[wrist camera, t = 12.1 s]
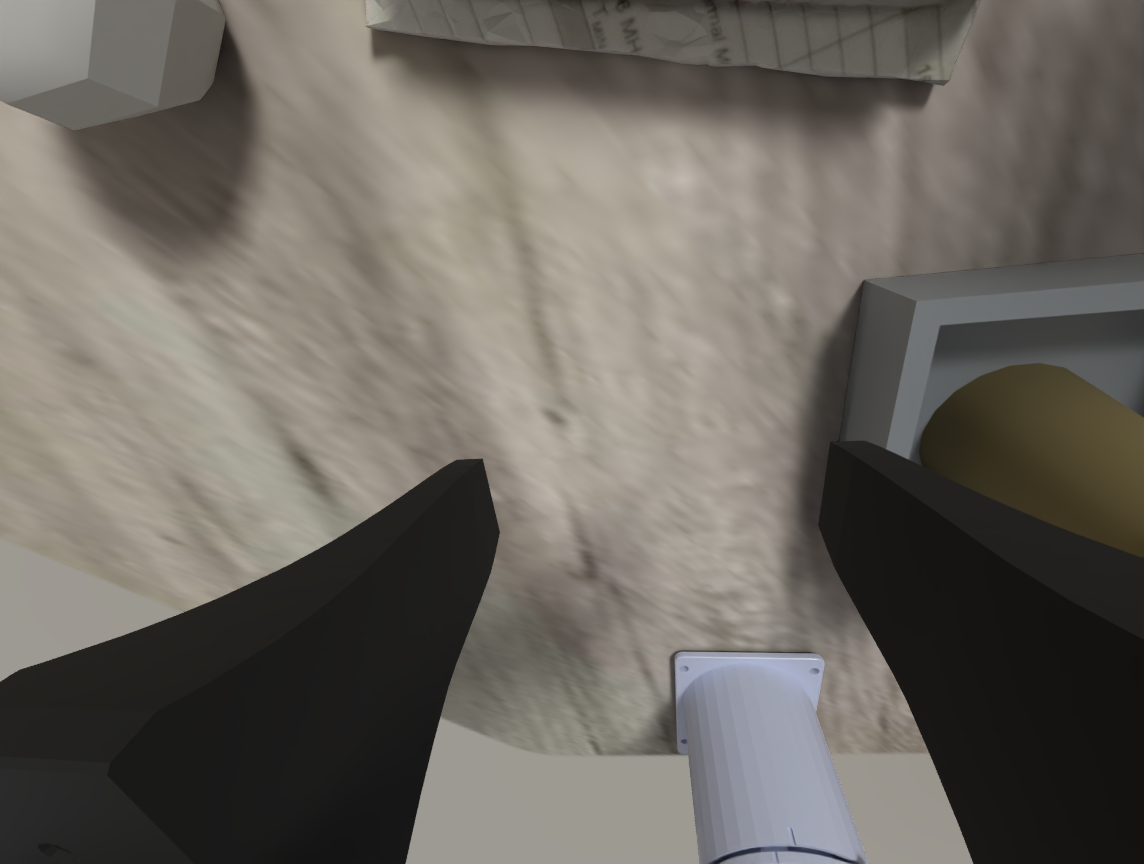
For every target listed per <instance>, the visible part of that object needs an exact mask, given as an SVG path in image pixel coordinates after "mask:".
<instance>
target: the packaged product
mask: <svg viewBox="0 0 1144 864" xmlns="http://www.w3.org/2000/svg"><path fill="white" fill-rule="evenodd" d="M979 3H980V0H366V23H367V25H366V27H369V28H373V29H376V30H381V31H389V32H396V33H403V34H410V35H417V36H424V37H431V38H439V39H447V40H455V41H462V42H470V43H478V44H486V45H530V46H540V47H550V48H560V49H570V50H581V51H591V52H601V53H611V54H622V55H636V56H644V57H649V58H654V59H660V60H665V61H670V62H676V63H681V64H692V65H703V64H708V65H709V66H715V67H725V66H759V67H761V68H768V69H775V70H782V71H790V72H797V73H804V74H812V75H819V76H827V77H858V78H894V79H909V80H914V81H920V82H926V83H931V84H937V85H943V86H944V85H945V84H946V83H947V82H948V81H949V80H950V79H951V75H952V71H953V67H954V65H955V63H956V60H957V58H958V55H959V53H960V50H961V48H962V45H963V43H964V40H965V38H966V36H967V33H968V31H969V28H970V26H971V23H972V21H973V18H974V16H975V13H976V11H977V8H978V6H979Z"/></svg>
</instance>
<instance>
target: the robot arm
mask: <svg viewBox="0 0 1144 864" xmlns="http://www.w3.org/2000/svg"><path fill="white" fill-rule="evenodd" d="M818 525H819V528H820V531H821V533H822V536H823V539H824V542H825V544H826V547H827V550H828V552H829V555H830V557H831V560H832V562H833V565H834V567H835V570H836V571H837V573H838V575H839V577H840V579H841V581H842V583H843V585H844V586H845V588H846V590H847V592H848V594H849V595H850V597H851V599H852V601H853V603H854V605H855V606H856V608H857V610H858V612H859V614H860V615H861V617H862V619H863V621H864V623H865V624H866V626H867V628H868V630H869V631H870V633H871V635H872V637H873V639H874V640H875V642H876V644H877V646H878V648H879V649H880V651H881V653H882V655H883V657H884V658H885V660H886V662H887V664H888V665H889V667H890V669H891V671H892V673H893V675H894V677H895V679H896V681H897V682H898V684H899V686H900V688H901V690H902V692H903V694H904V696H905V698H906V700H907V703H908V705H909V707H910V710H911V712H912V714H913V717H914V719H915V721H916V723H917V726H918V728H919V730H920V733H921V735H922V737H923V740H924V742H925V744H926V746H927V749H928V751H929V753H930V756H931V758H932V760H933V763H934V765H935V768H936V770H937V773H938V775H939V778H940V780H941V783H942V785H943V787H944V790H945V792H946V795H947V797H948V800H949V802H950V805H951V807H952V810H953V812H954V815H955V817H956V819H957V822H958V824H959V827H960V829H961V832H962V835H963V837H964V840H965V843H966V845H967V848H968V851H969V853H970V856H971V858H972V861H973V864H1144V558H1142V557H1139V556H1136V555H1133V554H1131V553H1128V552H1125V551H1122V550H1120V549H1117V548H1114V547H1111V546H1109V545H1106V544H1103V543H1100V542H1097V541H1095V540H1092V539H1089V538H1086V537H1084V536H1081V535H1078V534H1076V533H1073V532H1070V531H1068V530H1065V529H1063V528H1060V527H1058V526H1055V525H1053V524H1050V523H1048V522H1045V521H1043V520H1040V519H1038V518H1036V517H1033V516H1031V515H1029V514H1026V513H1024V512H1022V511H1019V510H1017V509H1014V508H1012V507H1010V506H1007V505H1005V504H1003V503H1000V502H998V501H996V500H994V499H991V498H989V497H987V496H985V495H982V494H980V493H978V492H976V491H974V490H972V489H969V488H967V487H965V486H963V485H961V484H959V483H957V482H954V481H952V480H950V479H948V478H946V477H944V476H942V475H940V474H938V473H935V472H933V471H931V470H929V469H927V468H925V467H923V466H921V465H919V464H917V463H915V462H913V461H910V460H908V459H906V458H904V457H902V456H900V455H898V454H896V453H893V452H891V451H889V450H887V449H885V448H882V447H880V446H878V445H875V444H873V443H870V442H867V441H864V440H861V441H840V442H830V449H829V455H828V462H827V469H826V476H825V483H824V490H823V497H822V504H821V510H820V517H819V524H818ZM499 534H500V531H499V527H498V523H497V518H496V514H495V510H494V505H493V501H492V497H491V493H490V488H489V484H488V480H487V475H486V471H485V467H484V463H483V459H465V460H456V461H454V462H452V463H450V464H448V465H447V466H445V467H443V468H442V469H440V470H439V471H437V472H436V473H434V474H433V475H431V476H430V477H429V478H427V479H426V480H424V481H423V482H421V483H420V484H419V485H417V486H416V487H414V488H413V489H411V490H410V491H408V492H407V493H406V494H404V495H403V496H401V497H400V498H398V499H397V500H396V501H394V502H393V503H391V504H390V505H388V506H387V507H385V508H384V509H382V510H381V511H379V512H378V513H376V514H375V515H373V516H371V517H370V518H368V519H367V520H365V521H364V522H362V523H361V524H359V525H357V526H356V527H354V528H353V529H351V530H350V531H348V532H347V533H345V534H343V535H342V536H340V537H338V538H337V539H335V540H333V541H332V542H330V543H328V544H326V545H325V546H323V547H321V548H320V549H318V550H316V551H314V552H312V553H310V554H308V555H307V556H305V557H303V558H301V559H299V560H297V561H295V562H294V563H292V564H290V565H288V566H286V567H284V568H282V569H280V570H278V571H276V572H274V573H272V574H269V575H267V576H265V577H263V578H261V579H259V580H257V581H254V582H252V583H250V584H248V585H246V586H244V587H242V588H239V589H237V590H235V591H233V592H231V593H229V594H227V595H224V596H222V597H220V598H218V599H215V600H213V601H211V602H208V603H206V604H203V605H201V606H198V607H196V608H194V609H191V610H189V611H186V612H184V613H181V614H179V615H176V616H174V617H171V618H168V619H166V620H164V621H161V622H158V623H156V624H153V625H150V626H148V627H145V628H142V629H140V630H137V631H134V632H131V633H129V634H126V635H124V636H121V637H118V638H115V639H112V640H109V641H106V642H103V643H100V644H97V645H94V646H91V647H88V648H85V649H82V650H79V651H76V652H73V653H70V654H67V655H64V656H61V657H58V658H55V659H52V660H49V661H46V662H43V663H40V664H37V665H34V666H30V667H27V668H24V669H21V670H19V671H17V672H15V673H13V674H12V675H10V676H9V677H7V678H6V679H4V680H2V681H1V682H0V864H405V863H406V859H407V854H408V850H409V845H410V841H411V836H412V832H413V827H414V823H415V817H416V814H417V809H418V804H419V800H420V795H421V791H422V787H423V783H424V779H425V775H426V770H427V767H428V763H429V759H430V755H431V750H432V746H433V742H434V738H435V734H436V731H437V727H438V723H439V720H440V716H441V712H442V709H443V705H444V701H445V698H446V694H447V690H448V687H449V684H450V681H451V678H452V675H453V672H454V669H455V666H456V663H457V660H458V658H459V655H460V653H461V650H462V647H463V645H464V642H465V639H466V637H467V634H468V632H469V629H470V626H471V624H472V621H473V619H474V616H475V613H476V611H477V608H478V606H479V603H480V600H481V598H482V595H483V592H484V589H485V587H486V584H487V581H488V579H489V576H490V573H491V569H492V565H493V561H494V557H495V553H496V548H497V543H498V538H499ZM674 660H675V694H676V728H677V750H678V752H679V753H681V754H683V755H688V756H689V766H690V775H691V785H692V795H693V805H694V814H695V824H696V834H697V843H698V853H699V861H700V862H699V863H700V864H869V863H868V860H867V857H866V854H865V851H864V848H863V846H862V843H861V840H860V837H859V835H858V831H857V829H856V826H855V823H854V820H853V817H852V814H851V812H850V809H849V806H848V803H847V800H846V797H845V795H844V792H843V789H842V786H841V783H840V780H839V778H838V775H837V772H836V769H835V766H834V764H833V761H832V758H831V755H830V752H829V749H828V746H827V743H826V741H825V738H824V735H823V732H822V729H821V726H820V724H819V721H818V718H817V715H816V710H817V704H818V699H819V693H820V688H821V683H822V677H823V672H824V666H825V663H824V660H823V658H822V656H821V655H819V654H814V653H751V652H679V653H677V654H676V655H675V657H674Z"/></svg>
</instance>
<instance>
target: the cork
mask: <svg viewBox="0 0 1144 864" xmlns="http://www.w3.org/2000/svg"><path fill="white" fill-rule="evenodd" d="M919 454H920V459H921V463H922V466H923V467H925V468H927V469H929V470H931V471H933V472H935V473H938V474H940V475H942V476H944V477H946V478H948V479H950V480H952V481H954V482H957V483H959V484H961V485H963V486H965V487H967V488H969V489H972V490H974V491H976V492H978V493H980V494H982V495H985V496H987V497H989V498H991V499H994V500H996V501H998V502H1000V503H1003V504H1005V505H1007V506H1010V507H1012V508H1014V509H1017V510H1019V511H1022V512H1024V513H1026V514H1029V515H1031V516H1033V517H1036V518H1038V519H1040V520H1043V521H1045V522H1048V523H1050V524H1053V525H1055V526H1058V527H1060V528H1063V529H1065V530H1068V531H1070V532H1073V533H1076V534H1078V535H1081V536H1084V537H1086V538H1089V539H1092V540H1095V541H1097V542H1100V543H1103V544H1106V545H1109V546H1111V547H1114V548H1117V549H1120V550H1122V551H1125V552H1128V553H1131V554H1133V555H1136V556H1139V557H1142V558H1144V417H1142V416H1140V415H1139V414H1137V413H1136V412H1134V411H1133V410H1131V409H1130V408H1128V407H1126V406H1125V405H1123V404H1122V403H1120V402H1119V401H1117V400H1115V399H1114V398H1112V397H1111V396H1109V395H1108V394H1106V393H1104V392H1103V391H1101V390H1100V389H1098V388H1097V387H1095V386H1094V385H1092V384H1090V383H1089V382H1087V381H1086V380H1084V379H1083V378H1081V377H1079V376H1078V375H1076V374H1075V373H1073V372H1071V371H1070V370H1068V369H1067V368H1064V367H1059V366H1054V365H1048V364H1043V363H1032V364H1022V365H1011V366H1008V367H1005V368H1002V369H999V370H996V371H993V372H990V373H987V374H984V375H981V376H979V377H978V378H976V379H974V380H973V381H971V382H970V383H968V384H966V385H965V386H963V387H961V388H960V389H958V390H956V391H955V392H954V393H953V394H952V395H951V396H950V397H949V398H948V399H947V400H946V401H945V402H944V403H943V404H942V405H941V406H940V407H939V408H937V409H936V410H935V412H934V414H933V415H932V417H931V419H930V421H929V422H928V424H927V426H926V427H925V429H924V431H923V434H922V439H921V444H920V449H919Z"/></svg>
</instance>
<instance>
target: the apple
mask: <svg viewBox="0 0 1144 864" xmlns="http://www.w3.org/2000/svg"><path fill="white" fill-rule="evenodd" d="M225 21H226V18H225V16H224V13H223V11H222V9H221V6H220V4H219V1H218V0H0V100H1V101H3V102H4V103H6V104H8V105H11V106H13V107H16V108H18V109H21V110H23V111H26V112H28V113H31V114H33V115H36V116H38V117H41V118H44V119H46V120H49V121H51V122H54V123H56V124H59V125H61V126H64V127H66V128H69V129H71V130H79V129H84V128H88V127H93V126H98V125H102V124H107V123H111V122H116V121H121V120H125V119H130V118H135V117H138V116H142V115H146V114H150V113H154V112H157V111H161V110H165V109H169V108H173V107H176V106H180V105H184V104H188V103H192V102H195V101H199V100H201V98H202V97H203V96H204V95H205V93H206V92H207V91H208V89H209V88H210V87H211V85H212V84H213V82H214V77H215V72H216V67H217V62H218V57H219V52H220V46H221V41H222V36H223V31H224V26H225Z"/></svg>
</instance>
